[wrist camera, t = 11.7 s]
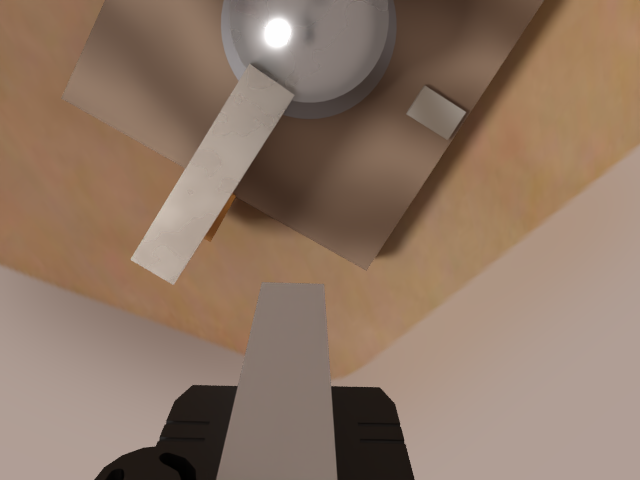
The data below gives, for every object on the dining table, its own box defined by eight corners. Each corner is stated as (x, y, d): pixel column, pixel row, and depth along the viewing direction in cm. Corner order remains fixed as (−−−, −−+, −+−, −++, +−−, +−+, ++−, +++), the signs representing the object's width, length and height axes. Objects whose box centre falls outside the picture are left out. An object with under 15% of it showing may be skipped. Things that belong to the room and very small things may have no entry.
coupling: (288, -80, 25) (285, -109, 21) (405, 8, 27) (422, -4, 23) (116, 214, 29) (87, 234, 25) (225, 279, 30) (213, 308, 27)
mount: (238, -259, 26) (228, -308, 23) (552, -30, 30) (583, -45, 26) (55, 143, 32) (25, 150, 28) (338, 298, 35) (341, 320, 32)
